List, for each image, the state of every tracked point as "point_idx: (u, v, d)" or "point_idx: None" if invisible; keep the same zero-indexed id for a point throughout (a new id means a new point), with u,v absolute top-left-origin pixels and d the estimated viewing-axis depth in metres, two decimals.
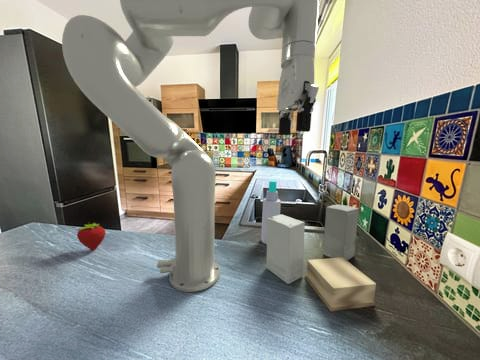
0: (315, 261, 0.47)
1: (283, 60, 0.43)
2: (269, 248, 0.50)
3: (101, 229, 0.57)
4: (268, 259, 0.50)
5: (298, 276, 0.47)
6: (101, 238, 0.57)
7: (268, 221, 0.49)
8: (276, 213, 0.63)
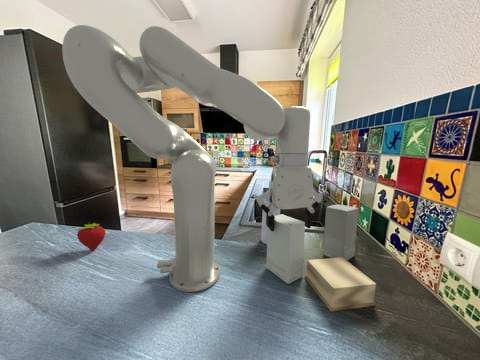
0: (315, 261, 0.47)
1: (300, 166, 0.42)
2: (269, 248, 0.50)
3: (101, 229, 0.57)
4: (268, 259, 0.50)
5: (298, 276, 0.47)
6: (101, 238, 0.57)
7: None
8: (276, 213, 0.63)
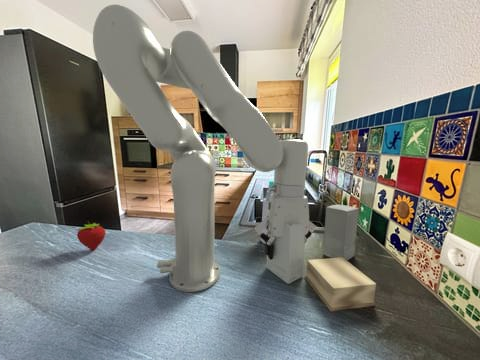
0: (315, 261, 0.47)
1: (296, 197, 0.43)
2: None
3: (101, 229, 0.57)
4: (268, 259, 0.50)
5: (298, 276, 0.47)
6: (101, 238, 0.57)
7: None
8: None
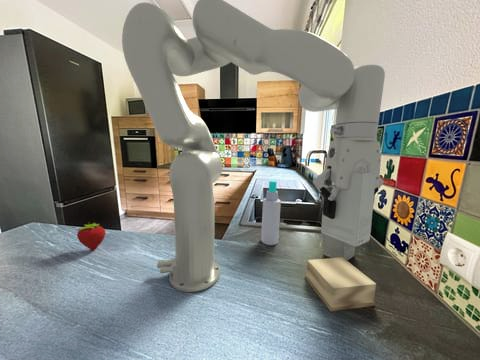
0: (315, 261, 0.47)
1: (371, 137, 0.35)
2: None
3: (101, 229, 0.57)
4: (325, 221, 0.42)
5: (366, 239, 0.39)
6: (101, 238, 0.57)
7: None
8: (276, 213, 0.63)
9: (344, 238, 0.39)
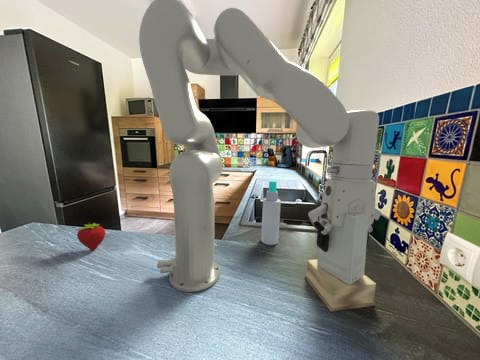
0: (315, 261, 0.47)
1: (365, 179, 0.36)
2: None
3: (101, 229, 0.57)
4: (320, 255, 0.44)
5: (359, 276, 0.40)
6: (101, 238, 0.57)
7: None
8: (276, 213, 0.63)
9: (338, 275, 0.40)
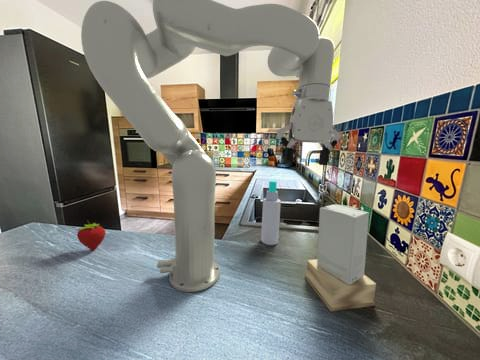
0: (315, 261, 0.47)
1: (322, 96, 0.44)
2: (322, 242, 0.43)
3: (101, 229, 0.57)
4: (320, 255, 0.44)
5: (359, 276, 0.40)
6: (101, 238, 0.57)
7: (321, 211, 0.43)
8: (276, 213, 0.63)
9: (338, 275, 0.40)
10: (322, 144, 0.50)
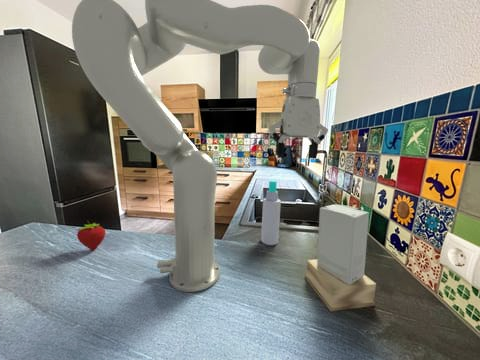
0: (315, 261, 0.47)
1: (309, 94, 0.47)
2: (322, 242, 0.43)
3: (101, 229, 0.57)
4: (320, 255, 0.44)
5: (359, 276, 0.40)
6: (101, 238, 0.57)
7: (321, 211, 0.43)
8: (276, 213, 0.63)
9: (338, 275, 0.40)
10: (311, 139, 0.54)
